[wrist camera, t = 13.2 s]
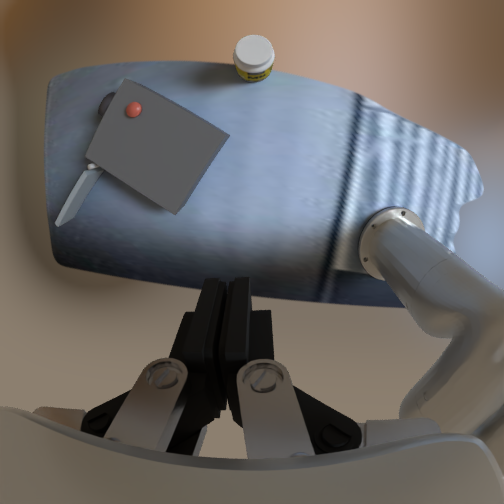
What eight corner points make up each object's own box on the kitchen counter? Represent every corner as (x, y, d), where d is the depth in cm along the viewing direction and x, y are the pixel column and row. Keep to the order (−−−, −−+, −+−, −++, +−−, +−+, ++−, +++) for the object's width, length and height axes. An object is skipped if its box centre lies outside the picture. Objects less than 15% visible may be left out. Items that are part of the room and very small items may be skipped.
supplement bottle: (247, 88, 32) (245, 75, 24) (230, 62, 30) (222, 44, 22) (278, 73, 31) (284, 56, 23) (260, 47, 29) (261, 25, 21)
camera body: (230, 135, 34) (225, 135, 29) (180, 212, 39) (169, 224, 34) (131, 79, 30) (113, 73, 25) (91, 155, 35) (70, 159, 30)
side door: (73, 217, 39) (58, 226, 35) (68, 211, 39) (52, 220, 34) (104, 170, 36) (87, 175, 32) (97, 163, 36) (81, 168, 31)
